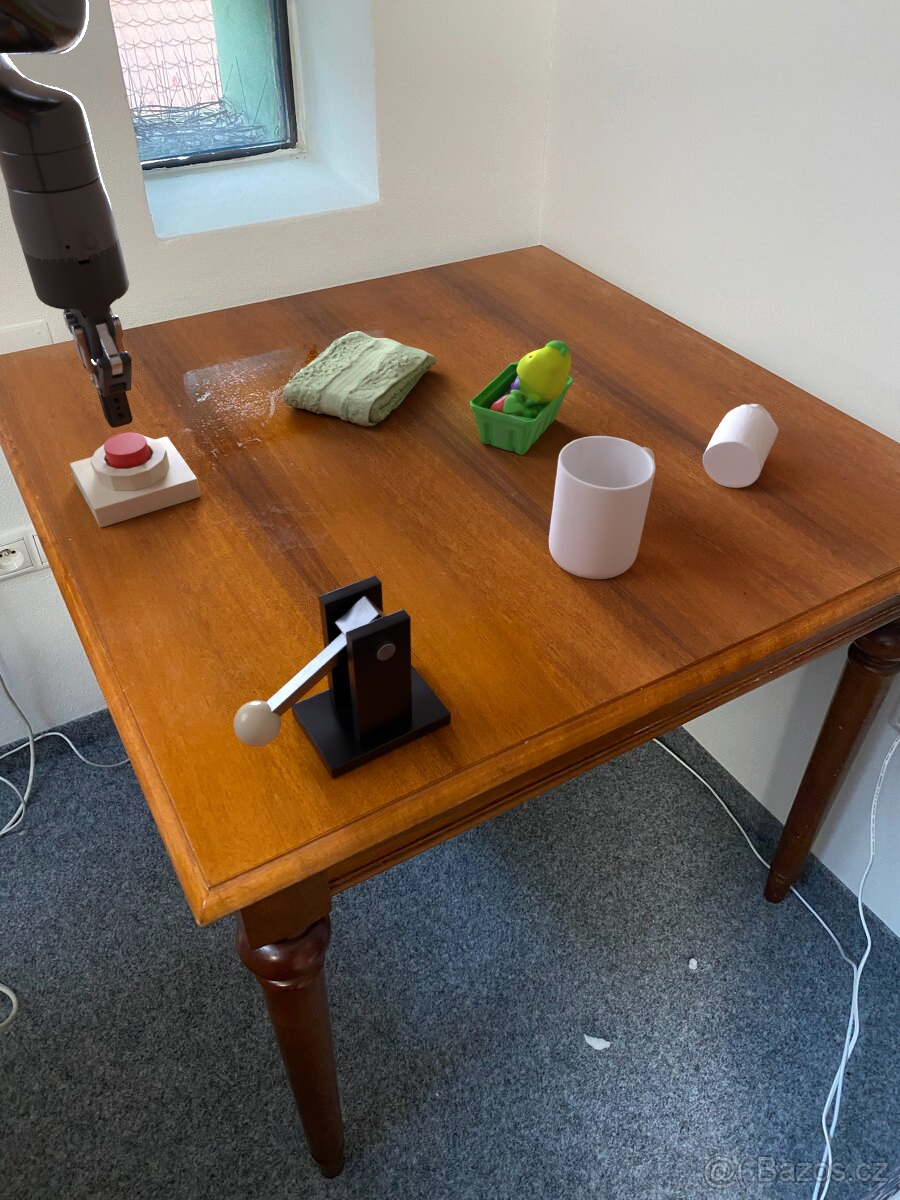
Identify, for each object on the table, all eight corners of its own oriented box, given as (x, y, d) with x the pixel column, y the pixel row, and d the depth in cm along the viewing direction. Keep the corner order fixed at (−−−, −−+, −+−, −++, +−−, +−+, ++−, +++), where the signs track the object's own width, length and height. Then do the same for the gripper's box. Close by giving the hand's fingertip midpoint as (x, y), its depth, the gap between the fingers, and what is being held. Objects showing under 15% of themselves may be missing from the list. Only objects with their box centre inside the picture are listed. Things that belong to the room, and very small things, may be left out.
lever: (263, 762, 60) (234, 747, 58) (245, 731, 62) (217, 715, 60) (402, 635, 60) (380, 615, 58) (380, 608, 62) (357, 587, 60)
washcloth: (441, 366, 108) (441, 342, 106) (375, 436, 96) (374, 410, 94) (347, 345, 112) (346, 321, 110) (273, 409, 100) (270, 384, 98)
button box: (100, 528, 83) (89, 493, 81) (75, 481, 89) (64, 447, 86) (201, 496, 87) (194, 463, 85) (171, 453, 93) (163, 420, 90)
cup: (529, 551, 82) (539, 460, 75) (607, 499, 88) (622, 410, 82) (599, 594, 78) (616, 501, 71) (676, 536, 84) (698, 446, 77)
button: (114, 474, 84) (110, 459, 82) (103, 454, 86) (98, 439, 85) (156, 462, 85) (152, 447, 84) (143, 443, 88) (139, 428, 87)
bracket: (332, 779, 63) (319, 667, 55) (291, 715, 67) (273, 601, 59) (451, 723, 67) (454, 611, 59) (405, 665, 71) (402, 553, 63)
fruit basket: (510, 399, 103) (517, 306, 95) (580, 419, 100) (593, 325, 92) (465, 445, 95) (468, 349, 88) (539, 468, 92) (550, 370, 85)
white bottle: (778, 439, 97) (792, 394, 94) (753, 495, 89) (768, 448, 86) (724, 425, 99) (736, 380, 95) (696, 478, 91) (708, 432, 88)
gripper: (3, 219, 74) (61, 401, 86) (41, 275, 66) (99, 468, 77) (93, 204, 77) (137, 382, 89) (140, 256, 69) (182, 444, 80)
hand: (119, 422), depth 83 cm, fingers closed
